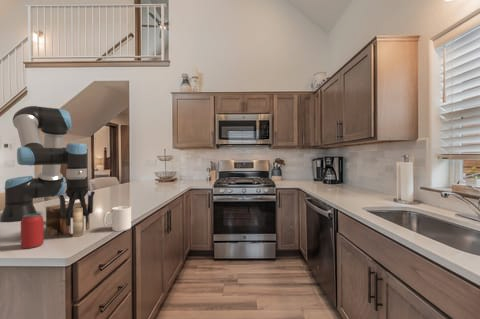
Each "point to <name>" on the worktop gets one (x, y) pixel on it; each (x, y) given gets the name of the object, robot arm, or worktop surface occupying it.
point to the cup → (119, 218)
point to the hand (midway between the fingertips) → (77, 231)
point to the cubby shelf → (58, 218)
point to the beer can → (31, 231)
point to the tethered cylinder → (77, 222)
